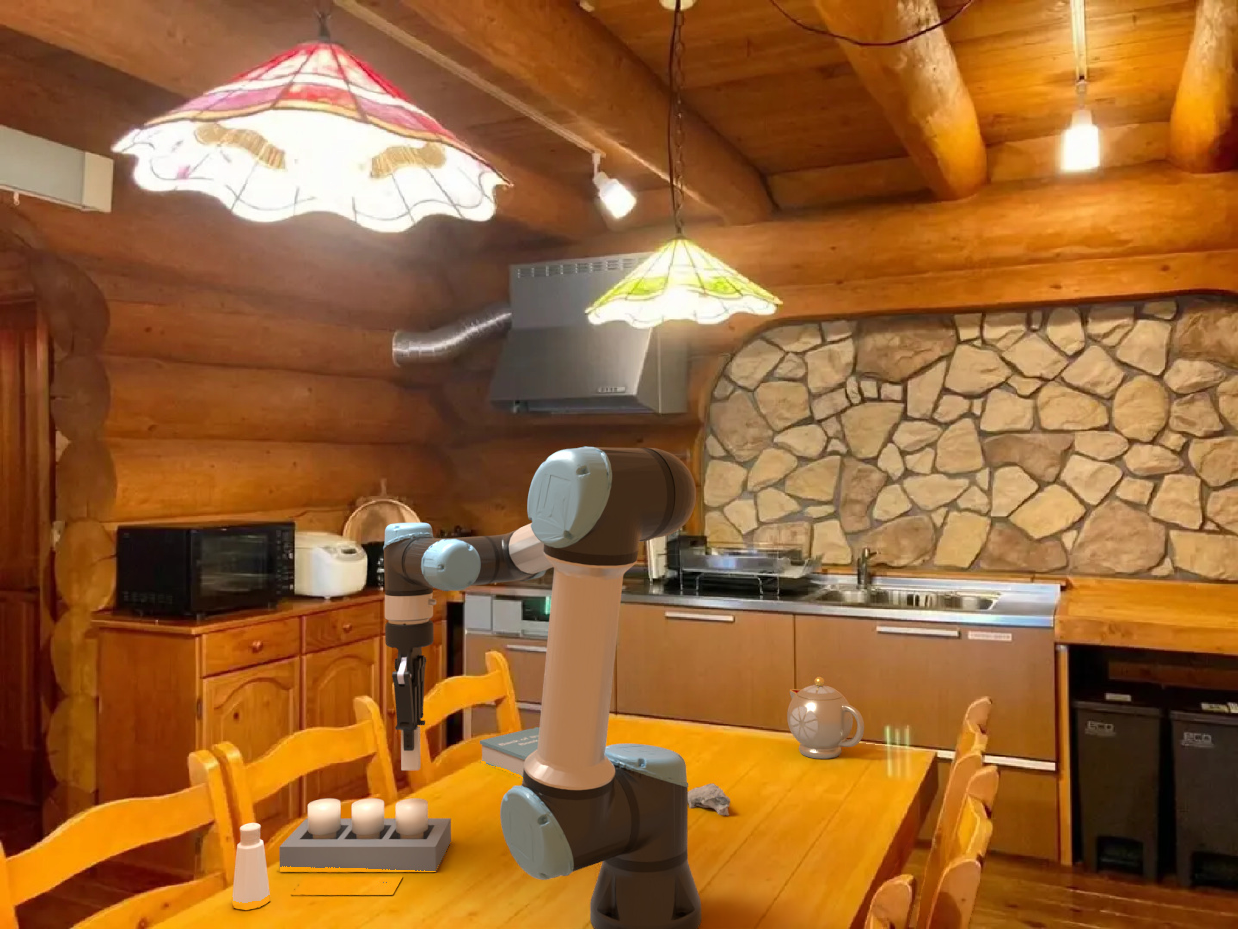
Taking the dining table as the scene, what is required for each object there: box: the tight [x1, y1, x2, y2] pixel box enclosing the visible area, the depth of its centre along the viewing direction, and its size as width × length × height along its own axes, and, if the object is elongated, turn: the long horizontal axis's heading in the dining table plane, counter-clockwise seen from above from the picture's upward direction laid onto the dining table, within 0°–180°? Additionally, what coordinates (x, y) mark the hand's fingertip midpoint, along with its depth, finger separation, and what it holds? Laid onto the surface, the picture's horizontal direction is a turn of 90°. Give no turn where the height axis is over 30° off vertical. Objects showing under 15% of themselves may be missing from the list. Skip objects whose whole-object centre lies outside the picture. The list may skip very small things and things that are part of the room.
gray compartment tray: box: [278, 817, 452, 872], centre depth 157 cm, size 12×24×4 cm, turn 89°
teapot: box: [786, 676, 865, 760], centre depth 209 cm, size 18×14×16 cm
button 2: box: [395, 797, 429, 839], centre depth 157 cm, size 5×5×6 cm
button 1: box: [307, 798, 342, 839], centre depth 157 cm, size 5×5×6 cm
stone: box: [688, 783, 731, 817], centre depth 179 cm, size 6×12×4 cm, turn 13°
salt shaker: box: [232, 822, 271, 903], centre depth 141 cm, size 5×5×11 cm
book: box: [479, 726, 540, 777], centre depth 204 cm, size 23×16×5 cm
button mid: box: [351, 797, 385, 839], centre depth 157 cm, size 5×5×6 cm
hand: (410, 768), depth 157 cm, fingers closed
